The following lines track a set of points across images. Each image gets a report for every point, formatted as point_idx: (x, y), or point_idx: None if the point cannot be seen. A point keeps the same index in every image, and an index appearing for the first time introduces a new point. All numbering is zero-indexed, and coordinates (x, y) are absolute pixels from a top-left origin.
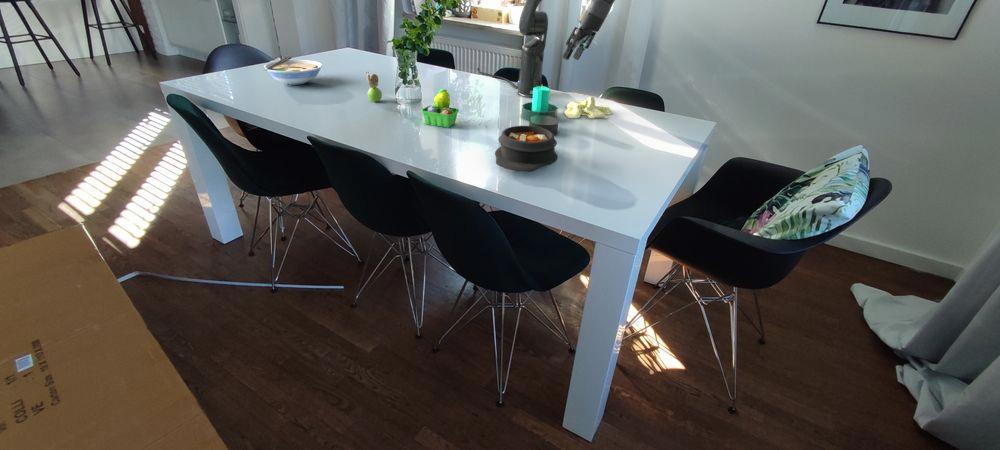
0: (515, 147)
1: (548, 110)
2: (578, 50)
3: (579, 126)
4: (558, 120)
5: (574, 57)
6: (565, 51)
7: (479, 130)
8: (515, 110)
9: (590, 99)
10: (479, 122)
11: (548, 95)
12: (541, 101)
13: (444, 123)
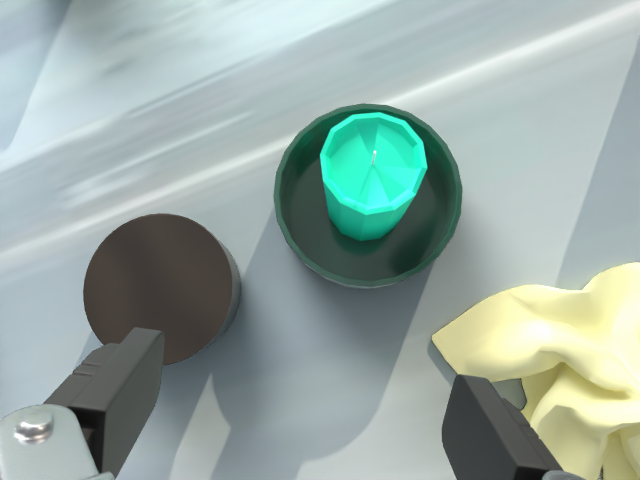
0: None
1: (447, 218)
2: (490, 470)
3: (334, 420)
4: (186, 353)
5: (456, 396)
6: (104, 366)
7: (65, 64)
8: (400, 73)
9: (628, 421)
10: (156, 20)
11: (363, 220)
12: (327, 200)
13: None
